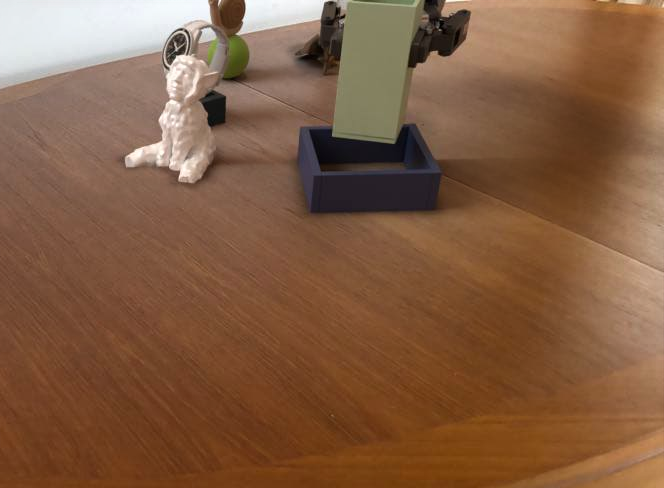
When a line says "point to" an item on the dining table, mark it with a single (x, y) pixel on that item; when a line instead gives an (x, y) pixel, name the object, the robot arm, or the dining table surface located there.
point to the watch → (187, 44)
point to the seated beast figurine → (182, 123)
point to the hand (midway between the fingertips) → (375, 53)
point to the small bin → (375, 69)
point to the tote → (367, 172)
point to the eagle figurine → (317, 52)
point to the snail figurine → (230, 33)
